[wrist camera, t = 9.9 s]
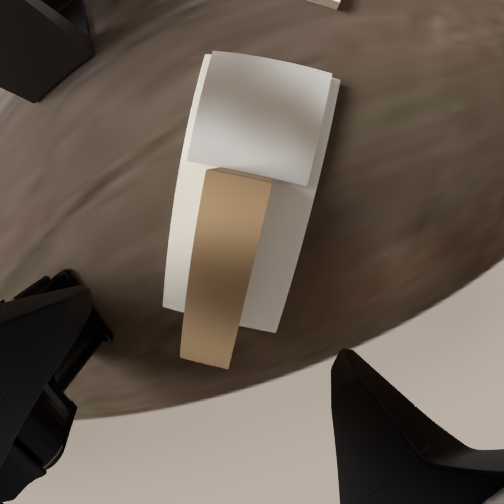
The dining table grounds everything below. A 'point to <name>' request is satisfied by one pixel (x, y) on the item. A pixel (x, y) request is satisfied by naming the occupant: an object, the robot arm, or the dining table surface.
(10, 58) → the phone stand
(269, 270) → the tool rest
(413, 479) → the robot arm
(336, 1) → the tile
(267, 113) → the turner
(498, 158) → the dining table surface
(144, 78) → the dining table surface
